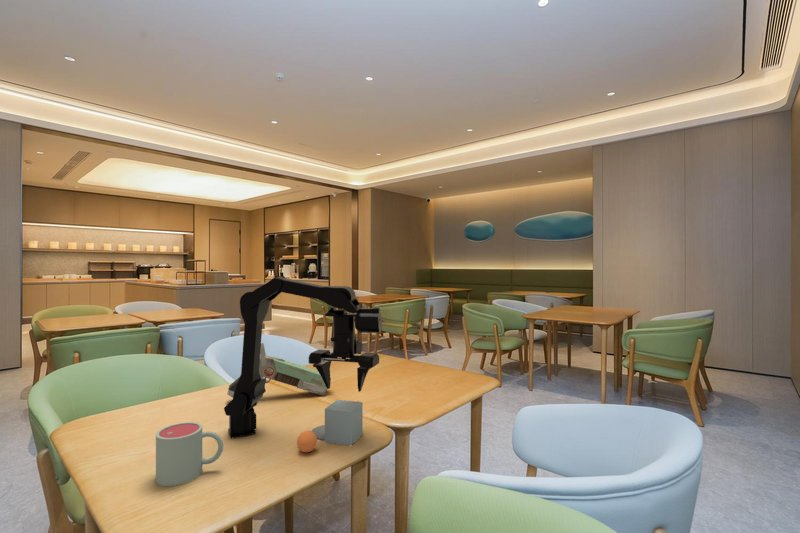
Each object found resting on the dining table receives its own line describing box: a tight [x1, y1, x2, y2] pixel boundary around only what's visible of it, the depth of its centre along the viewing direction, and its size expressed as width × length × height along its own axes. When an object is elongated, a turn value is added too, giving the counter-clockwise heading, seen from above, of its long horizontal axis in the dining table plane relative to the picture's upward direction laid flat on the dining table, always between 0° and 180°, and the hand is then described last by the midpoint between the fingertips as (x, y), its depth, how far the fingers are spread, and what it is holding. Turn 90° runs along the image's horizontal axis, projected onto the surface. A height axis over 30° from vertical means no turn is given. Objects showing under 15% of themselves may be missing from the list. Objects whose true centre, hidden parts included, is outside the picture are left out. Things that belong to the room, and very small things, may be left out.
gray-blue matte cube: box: [324, 399, 364, 446], centre depth 109 cm, size 8×8×9 cm
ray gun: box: [226, 342, 332, 398], centre depth 142 cm, size 7×32×20 cm, turn 108°
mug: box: [155, 421, 224, 487], centre depth 90 cm, size 14×9×10 cm
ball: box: [296, 430, 318, 453], centre depth 101 cm, size 5×5×5 cm
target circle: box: [311, 424, 325, 441], centre depth 113 cm, size 10×10×1 cm
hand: (344, 389), depth 109 cm, fingers open, 9 cm apart
